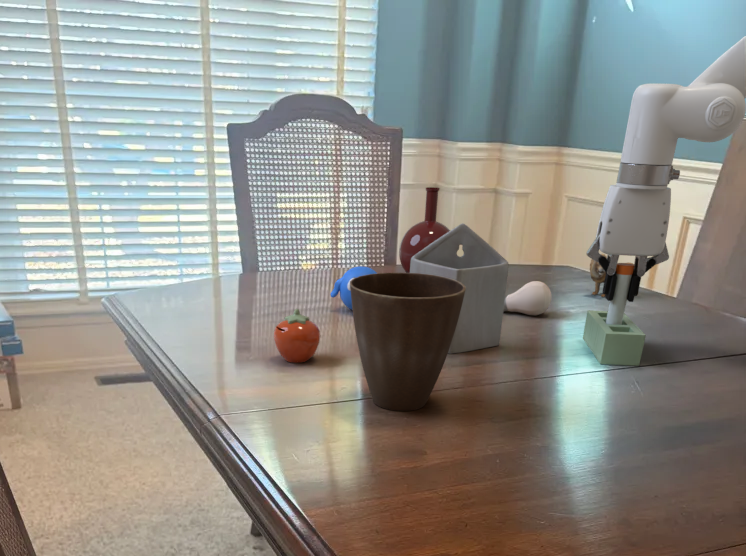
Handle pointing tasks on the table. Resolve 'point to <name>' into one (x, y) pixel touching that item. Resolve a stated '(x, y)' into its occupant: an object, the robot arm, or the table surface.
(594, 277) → the lion figurine
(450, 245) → the planter
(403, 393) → the flower pot
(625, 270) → the test tube
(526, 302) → the light bulb
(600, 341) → the rack
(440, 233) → the round-bottom flask
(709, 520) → the table surface
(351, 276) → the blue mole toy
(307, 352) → the tomato
